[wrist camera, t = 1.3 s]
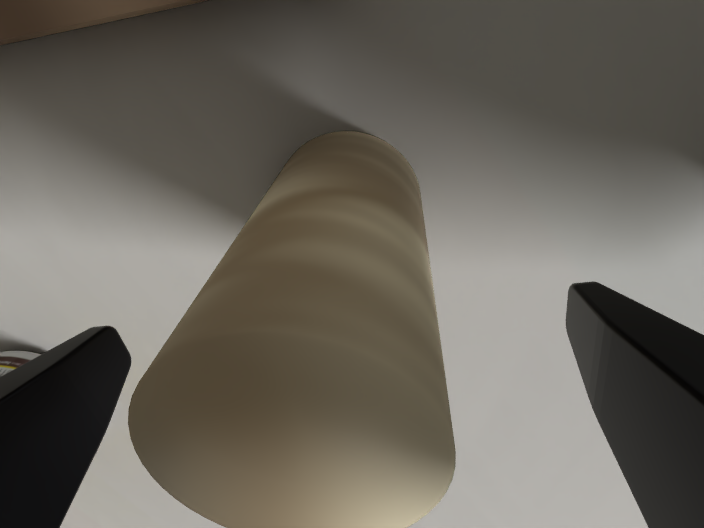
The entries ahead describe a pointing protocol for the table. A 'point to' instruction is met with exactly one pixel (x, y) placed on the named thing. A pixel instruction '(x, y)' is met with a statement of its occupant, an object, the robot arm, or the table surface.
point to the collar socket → (70, 15)
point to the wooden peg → (309, 358)
